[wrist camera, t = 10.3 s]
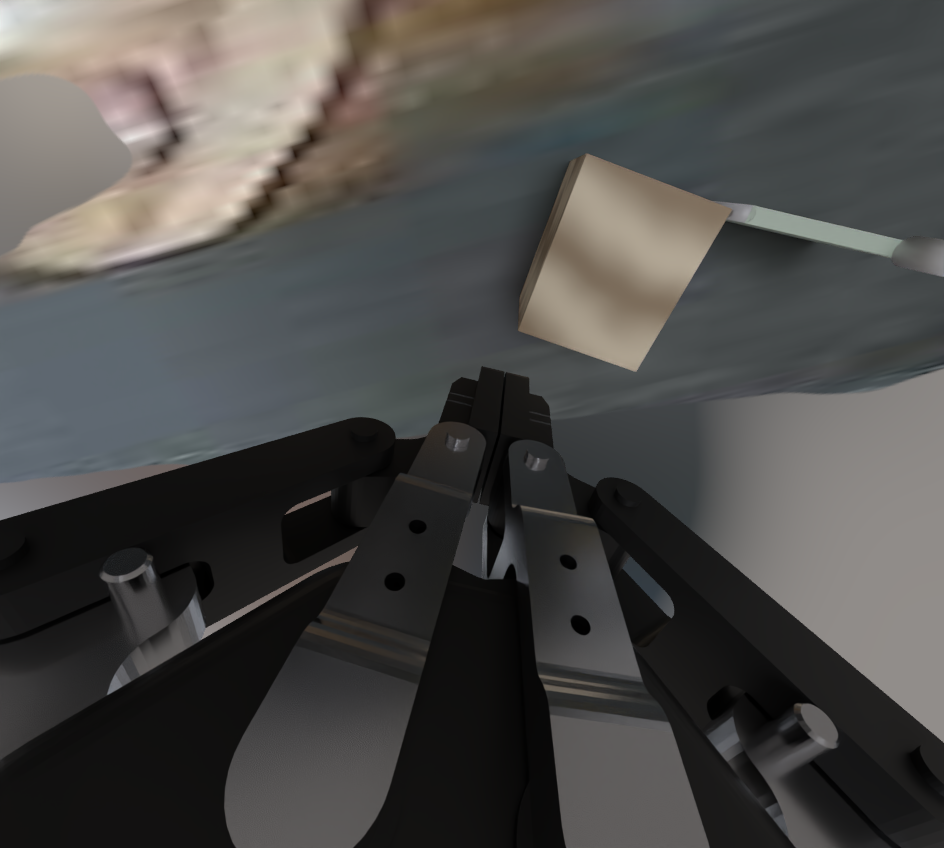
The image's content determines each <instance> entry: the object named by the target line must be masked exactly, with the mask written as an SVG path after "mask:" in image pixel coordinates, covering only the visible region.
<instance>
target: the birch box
mask: <svg viewBox="0 0 944 848" xmlns="http://www.w3.org/2000/svg"><path fill="white" fill-rule="evenodd" d="M731 211H732V209H731V208H728V207H726V206H723V205H720V204H718V203H715V202H712V201H710V200H707V199H705V198H702V197H699V196H697V195H694V194H692V193H689V192H686V191H684V190H681V189H678V188H676V187H673V186H671V185H668V184H665V183H663V182H660V181H658V180H655V179H652V178H650V177H647V176H644V175H642V174H639V173H637V172H634V171H631V170H629V169H626V168H624V167H621V166H618V165H616V164H613V163H610V162H608V161H605V160H603V159H600V158H597V157H595V156H592V155H590V154H585V155H582V156H580V157H578V158H576V159H574V160H571V161H570V163H569V165H568V168H567V171H566V174H565V176H564V179H563V182H562V184H561V187H560V190H559V192H558V195H557V198H556V200H555V203H554V206H553V208H552V211H551V214H550V216H549V219H548V222H547V224H546V227H545V230H544V232H543V235H542V238H541V240H540V243H539V246H538V248H537V251H536V254H535V256H534V259H533V262H532V265H531V267H530V270H529V273H528V275H527V278H526V281H525V283H524V286H523V289H522V291H521V294H520V299H519V319H518V331H520V332H523V333H526V334H529V335H532V336H535V337H537V338H540V339H543V340H546V341H549V342H552V343H555V344H558V345H560V346H563V347H566V348H569V349H572V350H575V351H578V352H580V353H583V354H586V355H589V356H592V357H595V358H598V359H601V360H603V361H606V362H609V363H612V364H615V365H618V366H621V367H624V368H626V369H629V370H632V371H635V372H636V371H637V369H638V368H639V366H640V364H641V363H642V361H643V359H644V358H645V356H646V354H647V352H648V351H649V349H650V347H651V346H652V344H653V342H654V341H655V339H656V337H657V336H658V334H659V332H660V331H661V329H662V327H663V325H664V324H665V322H666V320H667V319H668V317H669V315H670V314H671V312H672V310H673V309H674V307H675V305H676V304H677V302H678V300H679V298H680V297H681V295H682V293H683V292H684V290H685V288H686V287H687V285H688V283H689V282H690V280H691V278H692V277H693V275H694V273H695V271H696V270H697V268H698V266H699V265H700V263H701V261H702V260H703V258H704V256H705V255H706V253H707V251H708V250H709V248H710V246H711V244H712V243H713V241H714V239H715V238H716V236H717V234H718V233H719V231H720V229H721V228H722V226H723V224H724V223H725V221H726V219H727V217H728V216H729V214H730V212H731Z"/></svg>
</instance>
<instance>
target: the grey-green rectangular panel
mask: <svg viewBox="0 0 944 848" xmlns="http://www.w3.org/2000/svg"><path fill="white" fill-rule="evenodd" d="M712 202H715V203H718V204H720V205H723V206H726V207H728V208H731V209H732V211H731V212H730V214H729V216H728V217H727V219H726V221H727V222H731V223H736V224H740V225H744V226H748V227H753V228H757V229H761V230H766V231H770V232H774V233H778V234H783V235H787V236H791V237H796V238H800V239H804V240H808V241H813V242H817V243H822V244H827V245H831V246H836V247H841V248H846V249H851V250H855V251H860V252H865V253H870V254H874V255H879V256H884V257H889V258H892V262H893V264H894V265H896V266H898V267H903V268H907V269H911V270H916V271H920V272H924V273H929V274H933V275H938V276H942V277H944V240H943V239H935V238H928V237H921V236H913V237H910V238H907V239H905V240H904V241H903V240H899V239H895V238H890V237H886V236H882V235H878V234H873V233H869V232H865V231H860V230H856V229H852V228H848V227H843V226H839V225H835V224H830V223H826V222H822V221H818V220H813V219H809V218H805V217H800V216H796V215H792V214H788V213H783V212H779V211H775V210H771V209H766V208H762V207H758V206H753V205H746V204H737V203H727V202H718V201H712Z"/></svg>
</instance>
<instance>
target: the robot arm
mask: <svg viewBox="0 0 944 848" xmlns="http://www.w3.org/2000/svg"><path fill="white" fill-rule="evenodd" d="M481 488H482V489H481ZM328 491H331V496H329V497H327V498H324V499H322V500H319V501H317V502H315V503H312V504H310V505H307V506H305V507H303V508H300V509H298V510H296V511H293V512H291V513H289V514H286V512H287V511H288V510H289V509H291V508H292V507H294V506H295V505H297V504H299V503H301V502H304V501H306V500H308V499H311V498H313V497H316V496H318V495H321V494H323V493H326V492H328ZM480 492H481V497H480V504H483V505H488V506H489V509H488V514H487V517H486V521H485V524H484V527H483V555H482V578H479V577H476V576H474V575H472V574H470V573H468V572H466V571H464V570H462V569H460V568H458V567H456V566H453V565H452V564H453V561H454V557H455V554H456V550H457V546H458V543H459V539H460V536H461V532H462V528H463V525H464V522H465V518H466V517H467V516H468V514H469V512H470V509H471V505H472V502H474V503H477V502H478V498H479V495H480ZM285 514H286V515H285ZM358 545H359V546H358ZM356 546H358V548H357V549H356V551H355V553H354V555H353V557H352V558H351V560H350V561H349V562H345V563H341V564H338V565H335V566H331V567H329V568H326V569H324V570H322V571H320V572H317V573H315V574H313V575H312V576H310V577H308V578H306V579H305V580H303V581H301V582H299V583H298V584H296V585H294V586H293V587H291V588H289V589H288V590H286V591H284V592H282V593H281V594H279V595H277V596H276V597H274V598H272V599H271V600H269V601H267V602H265V603H264V604H262V605H260V606H259V607H257V608H255V609H254V610H252V611H250V612H248V613H247V614H245V615H243V616H242V617H240V618H238V619H236V620H235V621H233V622H231V623H230V624H228V625H226V626H225V627H223V628H221V629H220V630H218V631H216V632H214V633H213V634H211V635H209V636H207V637H206V638H204V639H202V640H201V638H202V636H203V634H204V631H205V628H206V627H208V626H210V625H212V624H214V623H216V622H218V621H219V620H221V619H223V618H225V617H227V616H228V615H231V614H232V613H234V612H236V611H238V610H240V609H242V608H244V607H245V606H247V605H249V604H251V603H253V602H255V601H256V600H258V599H260V598H262V597H264V596H265V595H268V594H269V593H271V592H273V591H275V590H277V589H279V588H281V587H282V586H284V585H286V584H288V583H290V582H292V581H294V580H295V579H297V578H299V577H301V576H303V575H304V574H306V573H308V572H310V571H312V570H314V569H316V568H318V567H319V566H321V565H323V564H325V563H327V562H329V561H330V560H332V559H334V558H336V557H338V556H340V555H342V554H344V553H345V552H347V551H349V550H351V549H353V548H355V547H356ZM630 556H631V557H632V558H633V559H634V560H635V561H636V562H637V563H638V564H639V565H640V566H641V567H642V568H643V569H644V570H645V571H646V572H647V573H648V574H649V575H650V576H651V577H652V578H653V579H654V580H655V581H656V582H657V583H658V584H659V585H660V586H661V587H662V588H663V589H664V590H665V591H666V592H667V593H668V595H669V596H670V597H671V600H672V601H673V604H674V610H675V611H674V616H673V617H672V618H670V617H669V616H667V615H666V614H665V613H664V612H663V611H662V610H661V609H660V608H659V607H658V605H657V604H656V603H655V602H654V601H653V600H652V599H651V598H650V597H649V596H648V595H647V594H646V593H645V592H644V591H643V590H642V589H641V588H640V587H639V586H638V585H637V583H635V581H634V580H633V579H632V578H631V577H630V576H629V575H628V574H627V573H626V572H625V571H624V570H623V569H622V568H623V566H624V565H625V563H626V562H627V560H628V558H629V557H630ZM200 640H201V641H200ZM0 848H944V743H943V742H942V741H941V740H940V739H939V738H937V737H936V736H935V735H934V734H932V732H930V731H929V730H928V729H926V727H924V726H923V725H922V724H921V723H920V722H918V721H917V720H916V719H915V718H914V717H913V716H911V715H910V714H909V713H908V712H907V711H905V710H904V709H903V708H902V707H901V706H899V705H898V704H897V703H896V702H895V701H893V700H892V699H891V698H890V697H889V696H887V695H886V694H885V693H884V692H883V691H882V690H880V689H879V688H878V687H877V686H875V685H874V684H873V683H872V682H871V681H870V680H869V679H867V678H866V677H865V676H864V675H863V674H861V673H860V672H859V671H858V670H856V668H854V667H853V666H852V665H851V664H850V663H848V662H847V661H846V660H845V659H844V658H842V657H841V656H840V655H839V654H838V653H837V652H835V651H834V650H833V649H832V648H831V647H829V646H828V645H827V644H826V643H825V642H823V641H822V640H821V639H820V638H819V637H817V636H816V635H815V634H814V633H813V632H811V631H810V630H809V629H808V628H807V627H806V626H804V625H803V624H802V623H801V622H800V621H799V620H797V619H796V618H795V617H794V616H793V615H791V614H790V613H789V612H788V611H787V610H785V609H784V608H783V607H782V606H780V605H779V604H778V603H777V602H776V601H775V600H774V599H772V598H771V597H770V596H769V595H768V594H766V593H765V592H764V591H763V590H761V588H759V587H758V586H757V585H756V584H755V583H753V582H752V581H751V580H750V579H749V578H747V577H746V576H745V575H744V574H743V573H741V572H740V571H739V570H738V569H737V568H736V567H734V566H733V565H732V564H731V563H730V562H728V561H727V560H726V559H725V558H724V557H723V556H721V555H720V554H719V553H718V552H717V551H715V550H714V549H713V548H712V547H711V546H709V545H708V544H707V543H706V542H705V541H703V540H702V539H701V538H700V537H699V536H698V535H696V534H695V533H694V532H693V531H692V530H690V529H689V528H688V527H687V526H686V525H684V524H683V523H682V522H681V521H680V520H678V519H677V518H676V517H675V516H674V515H673V514H671V513H670V512H669V511H668V510H667V509H666V508H664V507H663V506H662V505H661V504H660V503H658V502H657V501H656V500H655V499H654V498H652V497H651V496H650V495H649V494H648V493H646V492H645V491H644V490H643V489H641V488H640V487H638V486H637V485H635V484H633V483H631V482H628V481H626V480H623V479H619V478H604V479H602V480H600V481H599V482H598V484H597V486H596V488H595V487H592V486H590V485H588V484H586V483H584V482H582V481H580V480H578V479H576V478H574V477H572V476H571V475H569V474H568V473H567V472H566V467H565V463H564V460H563V458H562V457H561V455H560V454H559V453H558V452H557V451H556V450H554V448H553V439H552V429H551V419H550V409H549V406H548V404H547V403H546V402H545V400H544V399H543V398H542V397H541V396H537V395H533V394H529V378H528V377H524V376H520V375H516V374H512V373H508V372H506V374H505V376H504V372H503V371H499V370H495V369H491V368H487V367H483V366H482V368H481V372H480V376H479V380H478V381H475V380H471V379H467V378H463V377H461V378H460V379H458V380H457V381H455V382H454V383H452V386H451V389H450V392H449V395H448V398H447V401H446V403H445V406H444V409H443V412H442V415H441V418H440V421H439V423H438V424H437V425H435V426H433V427H432V428H431V430H430V431H429V433H428V435H427V436H426V437H423V438H419V439H395V432H394V431H393V429H392V428H391V427H390V426H389V425H387V424H386V423H384V422H382V421H379V420H376V419H373V418H365V417H357V418H350V419H346V420H343V421H339V422H336V423H333V424H329V425H326V426H322V427H319V428H315V429H312V430H309V431H305V432H302V433H298V434H295V435H291V436H288V437H285V438H281V439H278V440H274V441H271V442H267V443H264V444H261V445H257V446H254V447H250V448H247V449H243V450H240V451H237V452H233V453H230V454H226V455H223V456H219V457H216V458H213V459H209V460H206V461H202V462H199V463H195V464H192V465H189V466H185V467H182V468H178V469H175V470H172V471H168V472H165V473H162V474H158V475H154V476H151V477H148V478H144V479H141V480H138V481H134V482H130V483H127V484H123V485H120V486H117V487H114V488H110V489H106V490H103V491H99V492H97V493H93V494H89V495H86V496H83V497H79V498H76V499H72V500H69V501H66V502H62V503H59V504H55V505H52V506H48V507H45V508H41V509H38V510H34V511H31V512H27V513H24V514H21V515H18V516H14V517H11V518H7V519H4V520H0Z"/></svg>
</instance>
